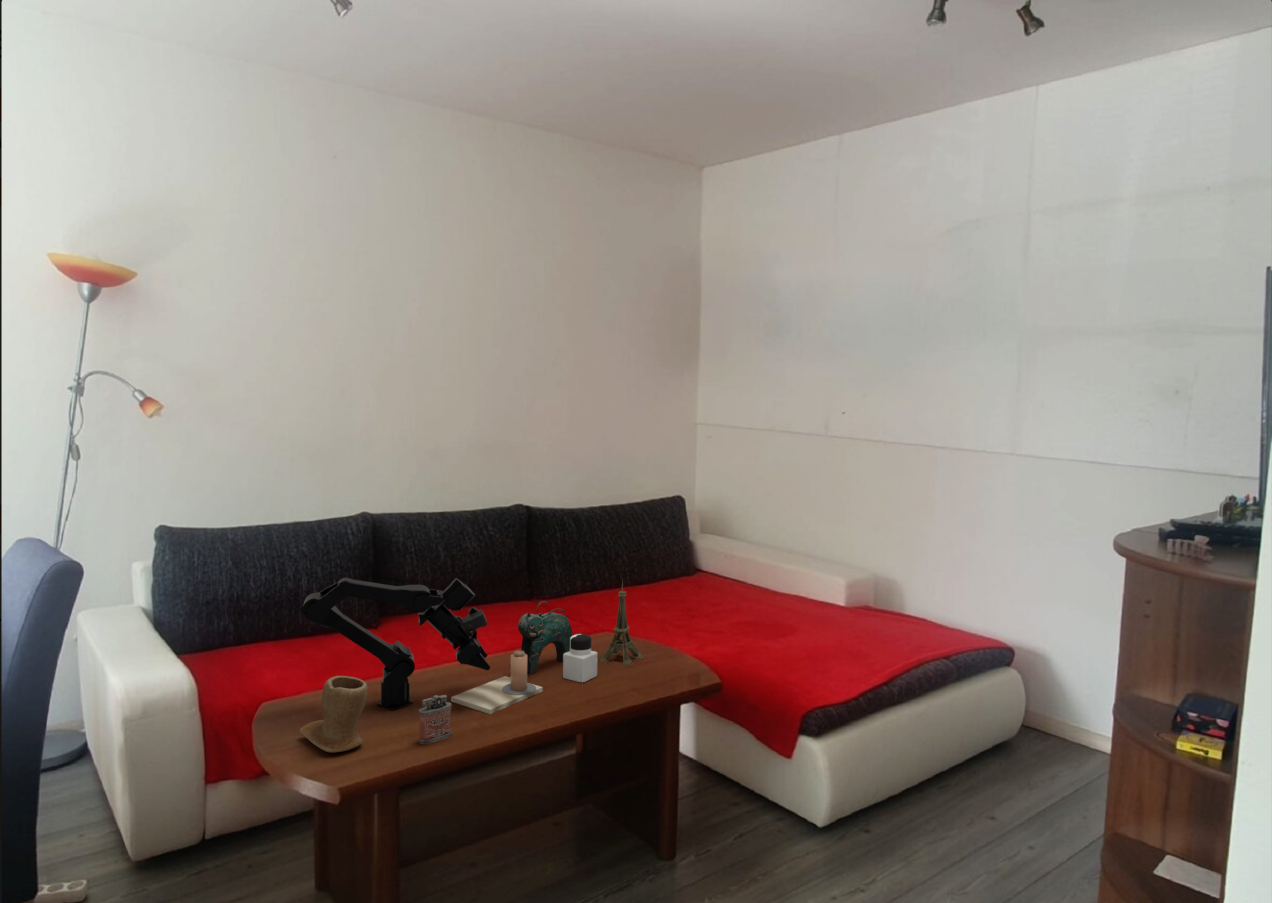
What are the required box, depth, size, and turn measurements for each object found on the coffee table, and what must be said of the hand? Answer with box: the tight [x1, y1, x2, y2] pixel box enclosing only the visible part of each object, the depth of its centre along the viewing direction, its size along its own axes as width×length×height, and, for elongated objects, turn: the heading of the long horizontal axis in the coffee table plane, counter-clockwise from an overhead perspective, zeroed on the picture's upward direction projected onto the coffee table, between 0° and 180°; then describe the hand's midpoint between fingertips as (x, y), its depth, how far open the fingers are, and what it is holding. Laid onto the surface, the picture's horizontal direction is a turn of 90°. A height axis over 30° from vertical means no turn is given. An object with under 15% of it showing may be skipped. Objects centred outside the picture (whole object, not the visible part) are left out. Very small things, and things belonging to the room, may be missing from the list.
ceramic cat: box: [517, 600, 574, 675], centre depth 248 cm, size 20×6×20 cm, turn 141°
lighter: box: [418, 694, 452, 745], centre depth 197 cm, size 8×3×10 cm, turn 135°
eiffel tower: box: [599, 578, 644, 668], centre depth 256 cm, size 11×11×25 cm
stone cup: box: [299, 675, 369, 753], centre depth 193 cm, size 15×12×15 cm
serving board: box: [450, 675, 544, 715], centre depth 224 cm, size 20×14×1 cm
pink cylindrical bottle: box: [510, 649, 528, 691], centre depth 226 cm, size 4×4×10 cm
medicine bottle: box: [562, 633, 598, 684], centre depth 240 cm, size 7×7×12 cm
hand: (487, 662), depth 224 cm, fingers open, 9 cm apart
